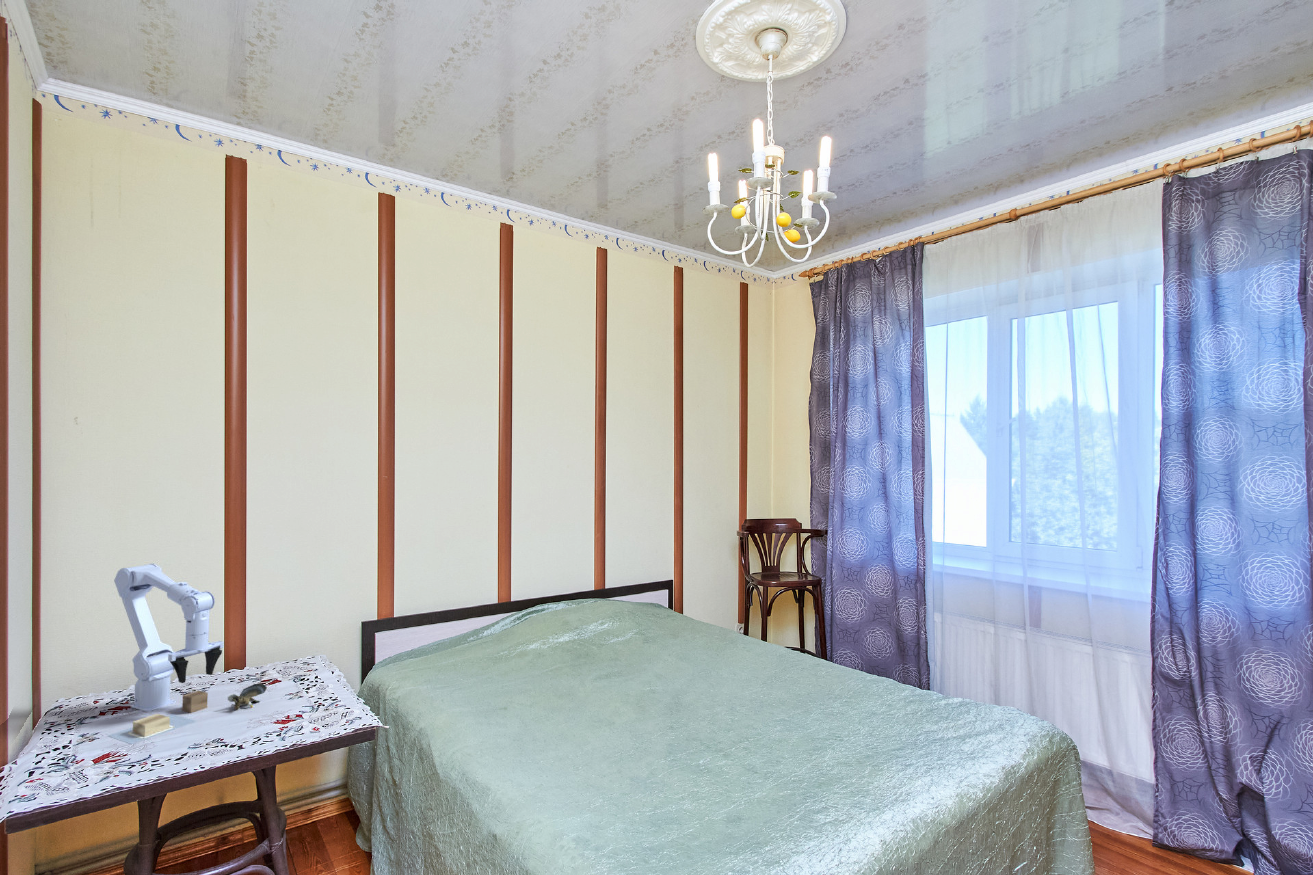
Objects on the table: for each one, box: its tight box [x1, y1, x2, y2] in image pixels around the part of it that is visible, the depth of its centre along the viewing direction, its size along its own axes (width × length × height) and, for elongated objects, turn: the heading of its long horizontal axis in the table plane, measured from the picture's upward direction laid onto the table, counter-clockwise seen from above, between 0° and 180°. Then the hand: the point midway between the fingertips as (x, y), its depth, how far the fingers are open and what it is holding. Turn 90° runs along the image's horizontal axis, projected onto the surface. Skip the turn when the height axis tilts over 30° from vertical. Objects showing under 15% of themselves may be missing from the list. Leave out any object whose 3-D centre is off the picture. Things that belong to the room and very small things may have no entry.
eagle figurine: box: [227, 682, 267, 711], centre depth 192 cm, size 8×7×9 cm
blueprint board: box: [107, 713, 197, 745], centre depth 176 cm, size 12×16×1 cm
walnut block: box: [181, 690, 209, 714], centre depth 189 cm, size 4×4×5 cm
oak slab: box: [132, 713, 170, 737], centre depth 174 cm, size 6×6×3 cm
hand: (195, 678), depth 189 cm, fingers open, 7 cm apart
